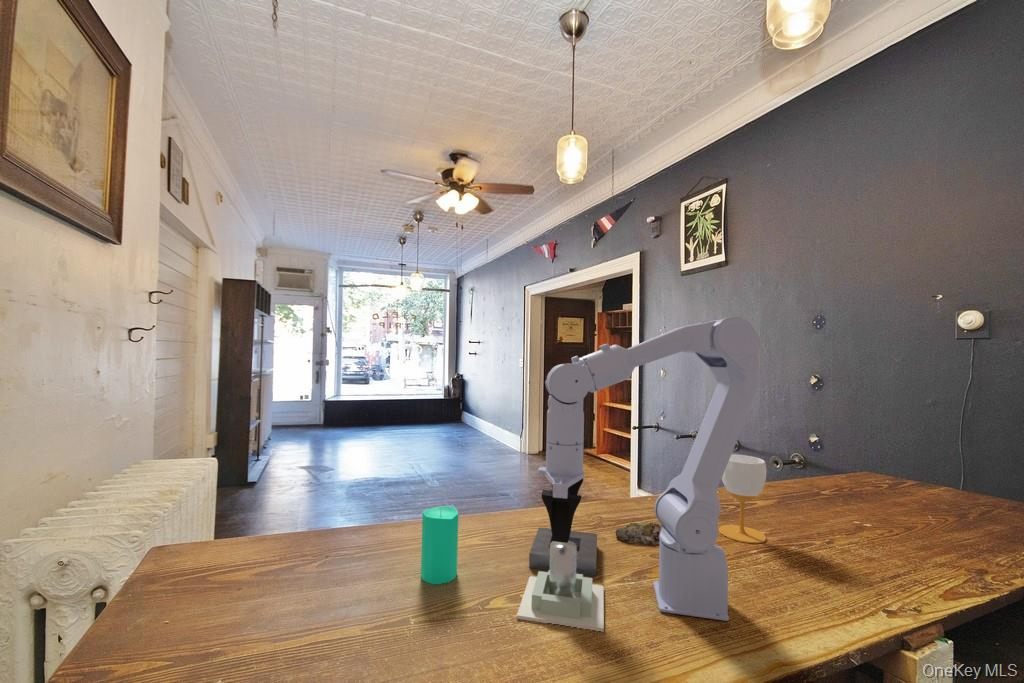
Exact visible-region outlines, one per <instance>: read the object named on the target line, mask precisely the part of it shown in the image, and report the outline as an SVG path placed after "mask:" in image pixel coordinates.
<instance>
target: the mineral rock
mask: <svg viewBox="0 0 1024 683" xmlns="http://www.w3.org/2000/svg"><path fill="white" fill-rule="evenodd" d="M661 529H662V525H660V523H656V522H649V521H644V522H638V523H637V522H630V523H629V524H628V525H625V526H622V527H617V528H616V530H615V536H616V537H615V538H616V540H617V541H622V542H623V541H624V543H627V542H633V543H632V544H644V545H646V546H655V545H659V540H660V532H661Z"/></svg>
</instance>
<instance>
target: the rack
mask: <svg viewBox="0 0 1024 683" xmlns="http://www.w3.org/2000/svg"><path fill="white" fill-rule="evenodd" d="M549 580H550V570H547V571H540V570H538V572H537V576H532V575H531V576H530V575H529V577H528V580H527V583H526V586H525V590H524V592H523V596H522V599H521V601H520V604H519V608H518V611H517V613H516V619H517V620H521V621H529V622H534V621H535V622H534V623H540V622H541V623H542V624H547V623H552V624H551V625H553V624H560V625H566V626H573V627H577V628H576V629H579V628H586V629H591V630H590V631H592V630H596V631H595V632H598V631H601V632H600V633H604V632H605V631H604V629H605V628H604V626H605V625H604V624H605V623H604V621H605V620H604V616H605V614H604V613H605V612H604V611H605V610H604V609H605V608H604V606H605V605H604V604H605V603H604V598H605V597H604V596H605V595H604V589H605V588H604V585H601V584H593V578H592V577H587V576H584V575H583V574H576V598H571V597H564V596H557V595H550V594H549ZM541 623H540V624H541ZM560 625H559V626H560ZM566 626H565V627H566ZM573 627H572V628H573Z"/></svg>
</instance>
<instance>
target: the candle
mask: <svg viewBox="0 0 1024 683" xmlns="http://www.w3.org/2000/svg"><path fill="white" fill-rule="evenodd" d="M421 524H422V526H421V528H422V530H421V531H422V533H421V554H420V555H421V560H420V561H421V563H420V578H421V579H422V581H423V580H424V581H426V582H425V583H427V582H428V583H427V584H430V583H431V584H430V585H443V584H442V583H444V584H446V583H447V582H448V583H451V582H452V581H453V580H455V579H456V578H457V573H458V547H459V546H458V545H459V544H458V541H459V511H458V509H457V508H456V507H454V506H448V505H447V506H445V505H444V506H443V505H440V506H435V507H432V508H429V509H428V508H427V509H425V510H423V512H422V523H421ZM424 581H423V582H424Z"/></svg>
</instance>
